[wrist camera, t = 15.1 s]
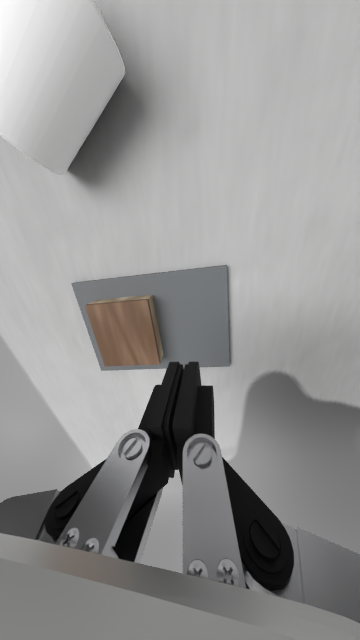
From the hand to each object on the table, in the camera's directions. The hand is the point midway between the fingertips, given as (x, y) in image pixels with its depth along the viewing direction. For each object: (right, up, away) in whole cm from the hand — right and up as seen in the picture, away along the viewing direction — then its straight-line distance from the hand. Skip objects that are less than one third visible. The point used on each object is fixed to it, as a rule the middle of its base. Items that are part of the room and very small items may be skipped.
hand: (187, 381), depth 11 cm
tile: (-4, +2, +13) cm, 14 cm away
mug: (-12, +26, +7) cm, 29 cm away
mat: (-4, +3, +15) cm, 16 cm away
